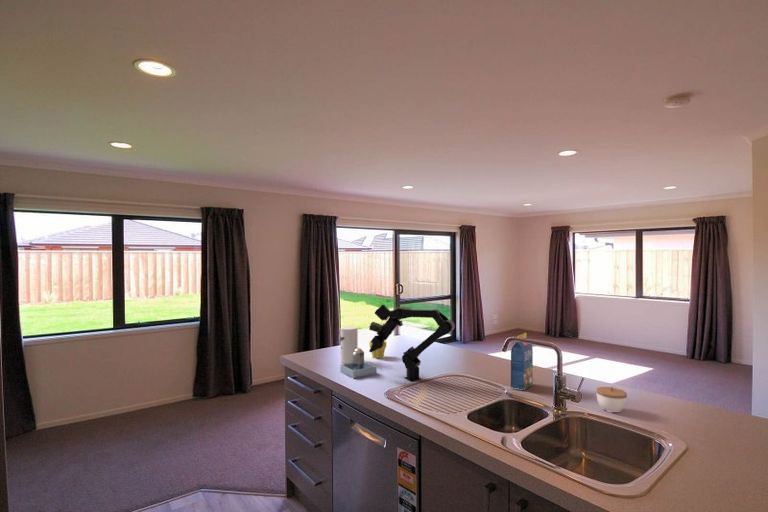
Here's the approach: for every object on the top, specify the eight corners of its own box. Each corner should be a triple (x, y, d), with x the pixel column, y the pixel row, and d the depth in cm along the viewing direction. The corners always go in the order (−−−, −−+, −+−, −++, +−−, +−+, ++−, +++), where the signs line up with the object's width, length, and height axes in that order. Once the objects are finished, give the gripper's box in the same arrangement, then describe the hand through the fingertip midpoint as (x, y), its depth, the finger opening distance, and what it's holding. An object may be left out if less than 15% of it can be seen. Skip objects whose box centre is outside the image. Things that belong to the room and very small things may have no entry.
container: (338, 360, 233) (338, 326, 233) (354, 358, 237) (354, 325, 237) (343, 364, 224) (343, 329, 224) (360, 362, 228) (360, 328, 228)
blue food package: (510, 388, 183) (510, 335, 183) (520, 382, 193) (520, 331, 193) (523, 391, 179) (523, 337, 179) (532, 384, 189) (532, 333, 189)
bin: (376, 374, 206) (376, 366, 206) (353, 378, 198) (353, 371, 198) (362, 367, 217) (362, 360, 217) (340, 372, 209) (340, 364, 209)
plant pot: (386, 359, 234) (386, 343, 234) (369, 359, 234) (369, 343, 234) (386, 355, 244) (386, 339, 244) (370, 355, 245) (370, 339, 245)
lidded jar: (611, 417, 151) (611, 392, 151) (590, 406, 161) (590, 383, 161) (633, 414, 154) (633, 390, 154) (611, 403, 164) (611, 381, 164)
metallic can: (364, 373, 205) (364, 349, 205) (353, 373, 204) (353, 349, 204) (363, 369, 211) (363, 346, 211) (352, 370, 210) (352, 347, 210)
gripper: (381, 312, 212) (364, 333, 216) (372, 322, 194) (355, 345, 198) (397, 325, 211) (380, 345, 215) (390, 336, 193) (372, 359, 197)
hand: (372, 348), depth 206 cm, fingers open, 9 cm apart
